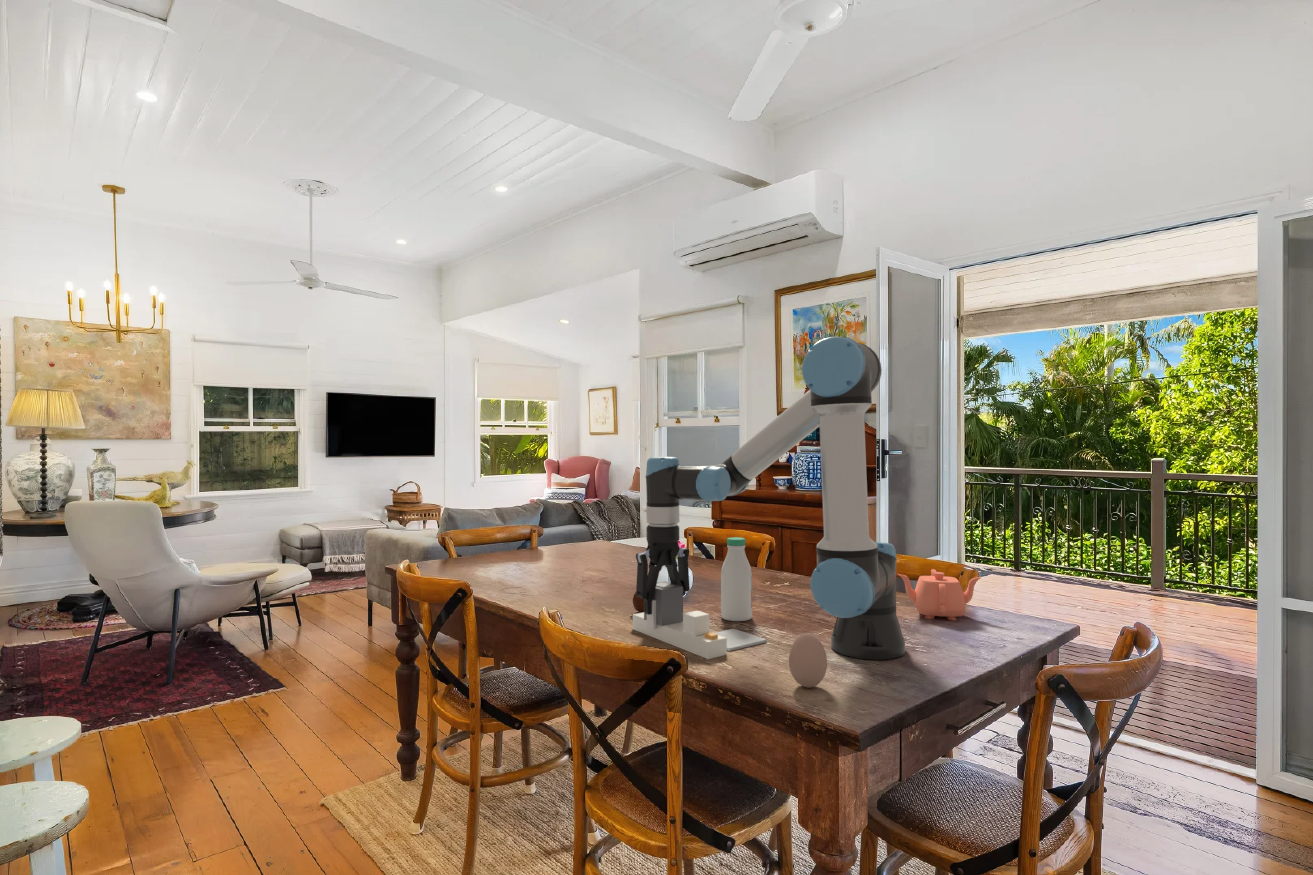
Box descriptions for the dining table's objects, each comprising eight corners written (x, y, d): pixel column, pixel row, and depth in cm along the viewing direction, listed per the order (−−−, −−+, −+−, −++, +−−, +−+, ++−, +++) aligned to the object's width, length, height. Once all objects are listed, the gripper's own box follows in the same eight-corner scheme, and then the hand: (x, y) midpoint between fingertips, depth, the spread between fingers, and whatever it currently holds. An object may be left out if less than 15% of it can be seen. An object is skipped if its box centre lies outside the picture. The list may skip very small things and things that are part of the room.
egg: (809, 696, 124) (809, 640, 124) (781, 685, 130) (780, 632, 130) (835, 688, 128) (834, 634, 128) (806, 677, 134) (806, 626, 134)
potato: (678, 610, 186) (678, 579, 186) (648, 618, 178) (647, 586, 178) (657, 605, 192) (656, 575, 192) (626, 613, 183) (626, 582, 183)
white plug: (709, 632, 152) (709, 614, 152) (694, 636, 149) (694, 617, 149) (697, 628, 155) (697, 610, 155) (683, 631, 153) (683, 613, 153)
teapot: (896, 614, 181) (896, 571, 181) (932, 606, 188) (932, 565, 188) (946, 626, 168) (946, 580, 168) (983, 618, 176) (982, 574, 176)
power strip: (726, 654, 148) (726, 634, 148) (708, 659, 145) (708, 638, 145) (650, 625, 171) (649, 607, 171) (632, 629, 168) (632, 610, 168)
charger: (683, 621, 161) (683, 585, 161) (661, 626, 157) (661, 589, 157) (665, 615, 167) (664, 580, 167) (644, 619, 163) (643, 584, 163)
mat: (766, 642, 157) (766, 639, 157) (729, 651, 150) (729, 648, 150) (733, 631, 166) (733, 628, 166) (696, 639, 159) (696, 636, 159)
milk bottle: (751, 622, 173) (750, 540, 173) (719, 621, 175) (718, 540, 174) (753, 614, 181) (752, 536, 180) (722, 613, 182) (722, 535, 182)
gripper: (685, 519, 171) (686, 615, 171) (618, 526, 160) (619, 628, 160) (705, 522, 164) (706, 622, 164) (637, 529, 153) (638, 636, 153)
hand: (663, 625), depth 162 cm, fingers closed on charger, 6 cm apart
